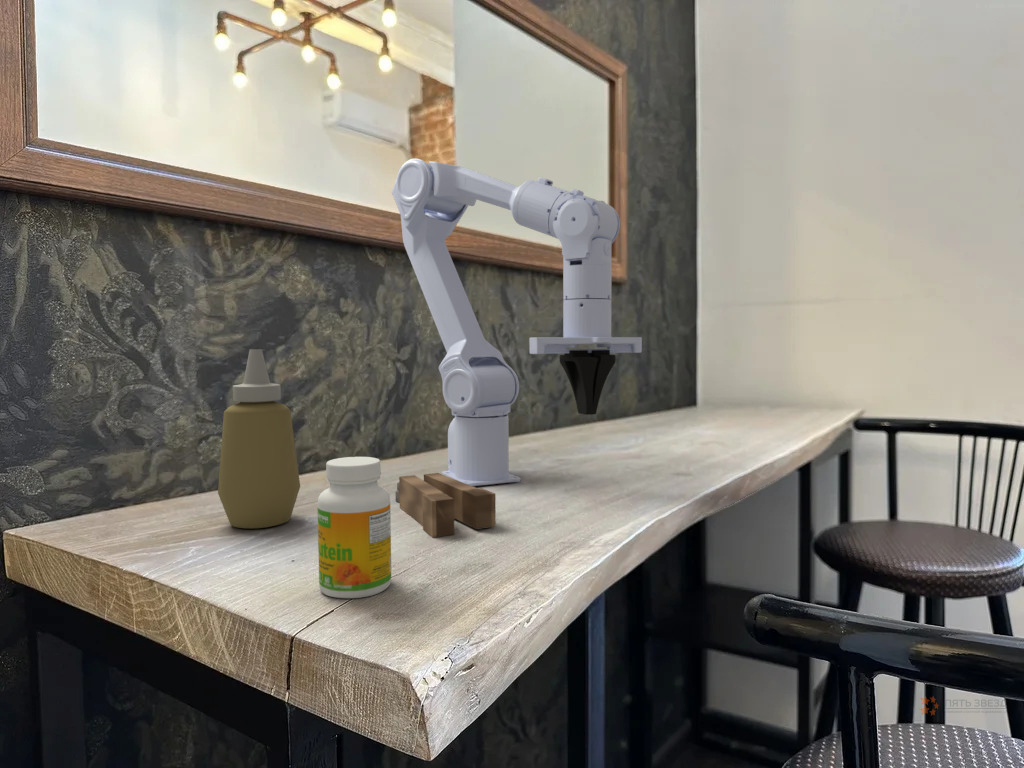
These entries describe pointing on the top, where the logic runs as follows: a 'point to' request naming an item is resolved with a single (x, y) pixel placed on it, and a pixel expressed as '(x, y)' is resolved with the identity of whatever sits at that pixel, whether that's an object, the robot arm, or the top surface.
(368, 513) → the supplement bottle
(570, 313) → the robot arm
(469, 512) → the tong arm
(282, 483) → the squeeze bottle
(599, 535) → the top surface
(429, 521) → the brown wooden block
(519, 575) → the top surface
